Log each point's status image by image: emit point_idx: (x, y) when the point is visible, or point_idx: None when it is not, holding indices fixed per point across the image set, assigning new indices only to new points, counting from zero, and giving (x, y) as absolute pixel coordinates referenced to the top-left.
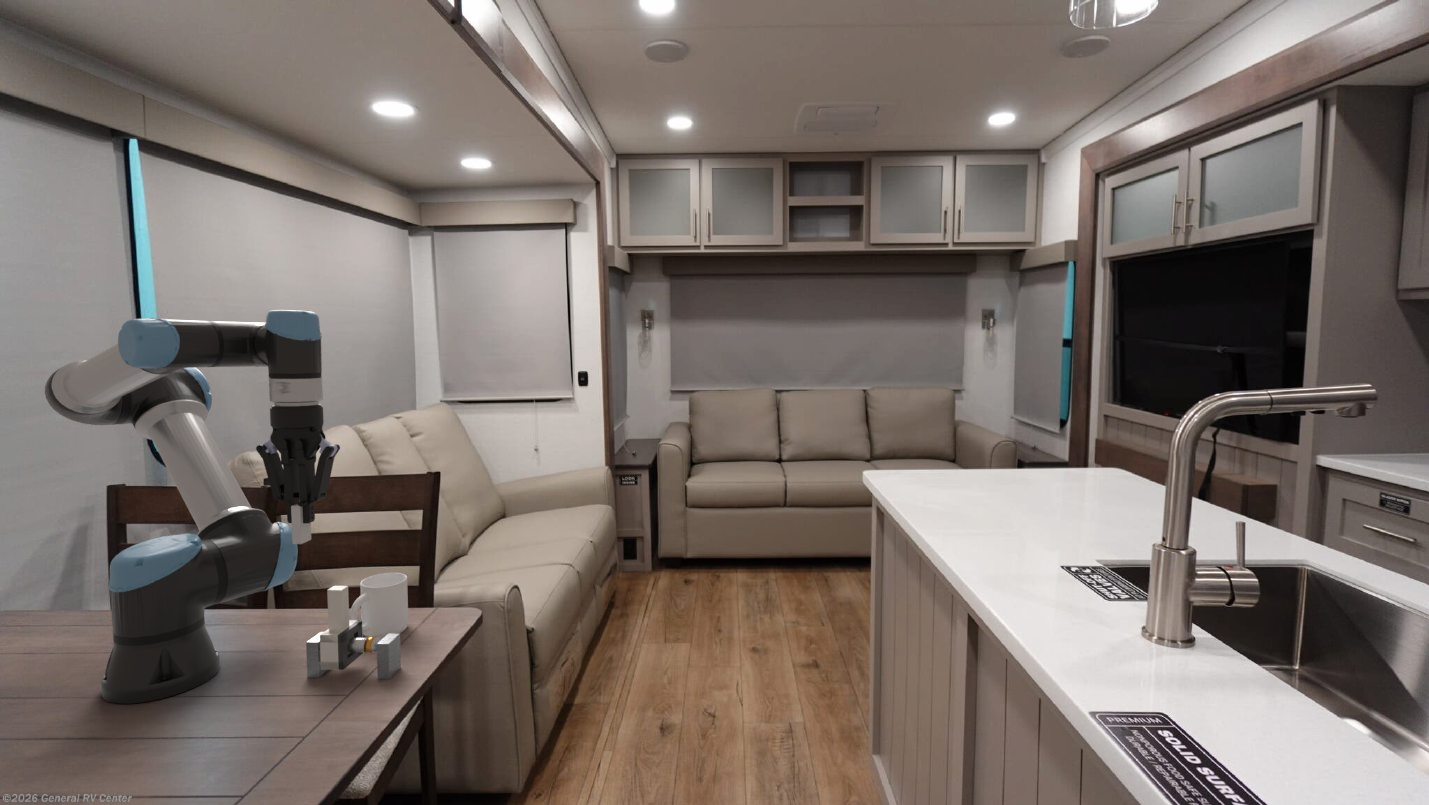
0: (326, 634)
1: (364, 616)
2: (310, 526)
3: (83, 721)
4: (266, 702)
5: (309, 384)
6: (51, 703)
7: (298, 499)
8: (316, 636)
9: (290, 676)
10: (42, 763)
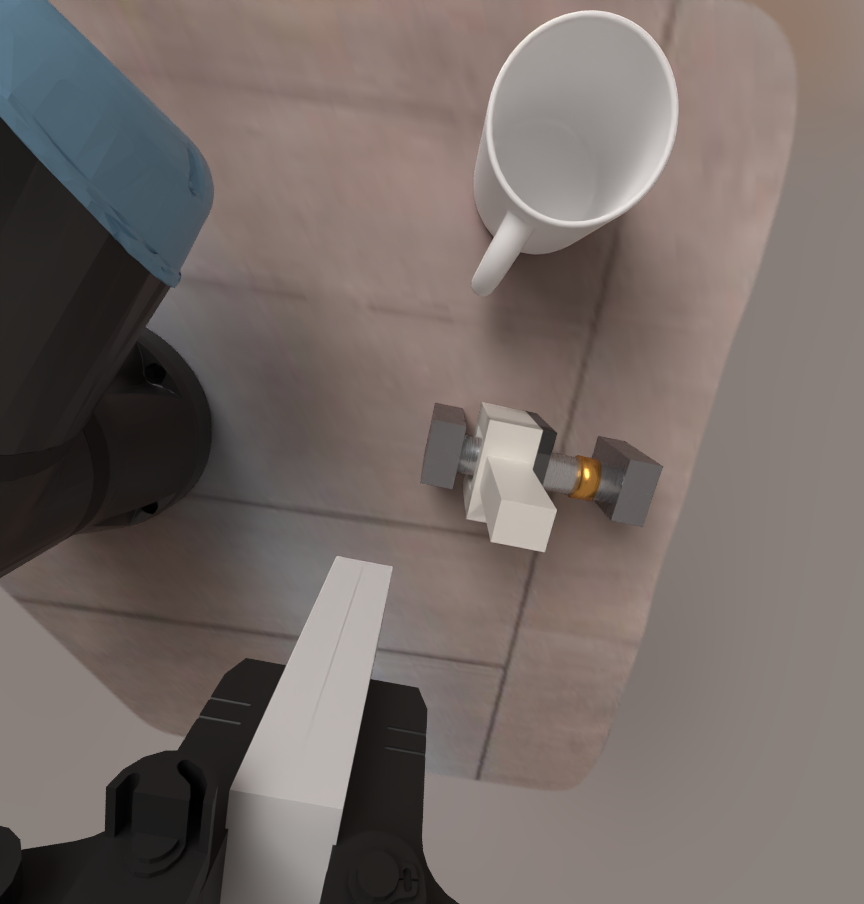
0: (484, 518)
1: (499, 226)
2: (380, 621)
3: (84, 562)
4: (384, 547)
5: None
6: None
7: (203, 889)
8: (433, 449)
9: (383, 443)
10: (130, 672)
